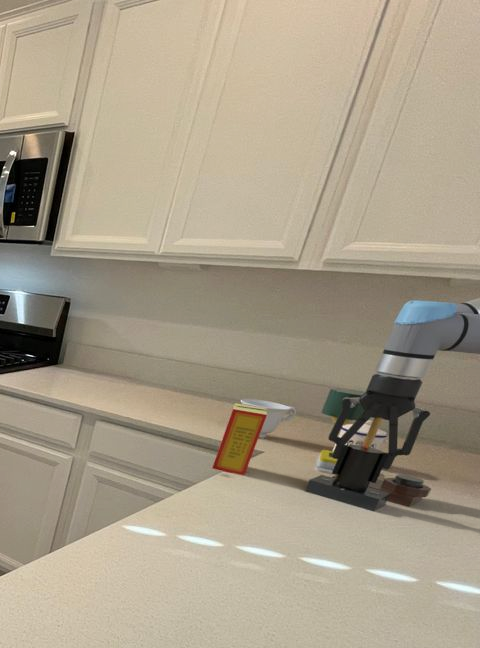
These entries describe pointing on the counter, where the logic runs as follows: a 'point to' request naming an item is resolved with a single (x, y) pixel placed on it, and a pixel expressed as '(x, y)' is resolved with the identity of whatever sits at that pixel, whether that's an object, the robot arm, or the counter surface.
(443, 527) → the counter surface
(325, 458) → the emergency button
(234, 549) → the counter surface
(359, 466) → the black pen holder
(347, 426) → the teacup with lid
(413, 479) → the lamp button
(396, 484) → the lamp base
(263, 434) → the teacup
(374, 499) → the dimmer panel
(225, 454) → the baking soda box
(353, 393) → the desk lamp
